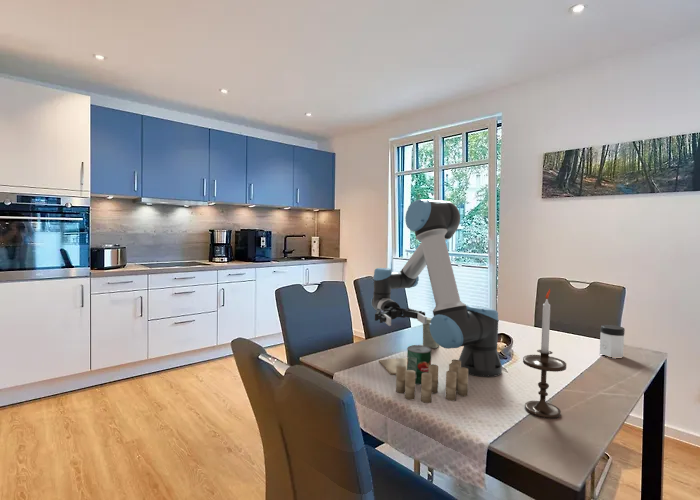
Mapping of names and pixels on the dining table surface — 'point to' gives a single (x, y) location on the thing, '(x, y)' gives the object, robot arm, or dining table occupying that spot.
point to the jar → (612, 340)
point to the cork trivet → (393, 364)
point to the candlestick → (544, 370)
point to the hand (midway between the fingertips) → (408, 321)
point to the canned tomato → (418, 361)
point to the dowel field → (433, 382)
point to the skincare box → (428, 336)
